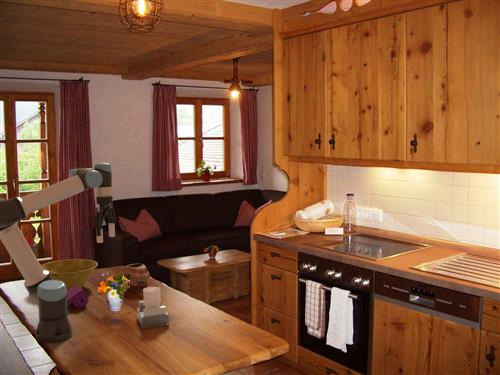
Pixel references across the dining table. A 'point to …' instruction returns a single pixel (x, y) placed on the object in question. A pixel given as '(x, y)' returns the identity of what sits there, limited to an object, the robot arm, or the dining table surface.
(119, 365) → the dining table surface
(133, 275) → the decorative planter
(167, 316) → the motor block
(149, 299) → the white cup
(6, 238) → the robot arm
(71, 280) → the planter bowl
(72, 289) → the purple elongated rounded piece
